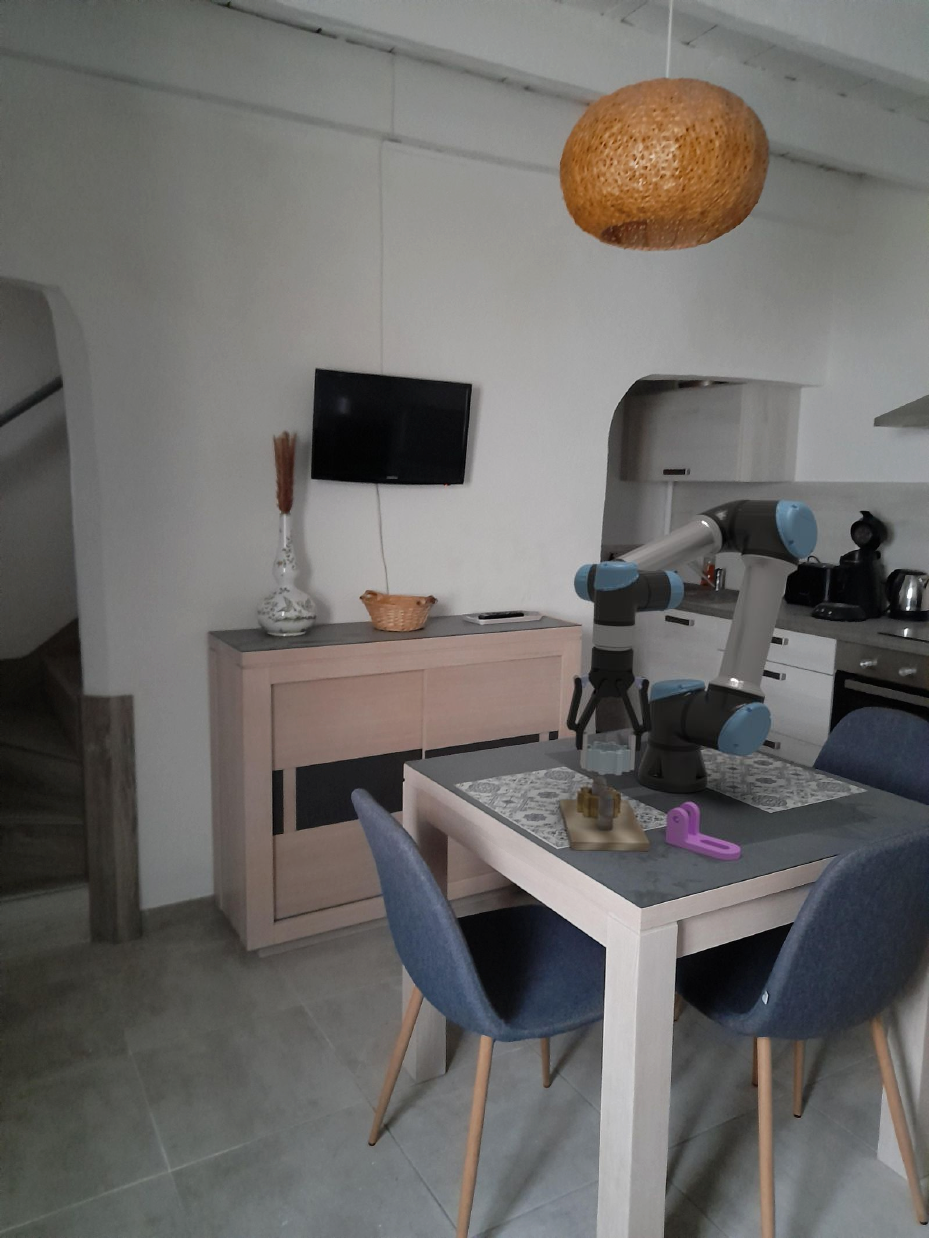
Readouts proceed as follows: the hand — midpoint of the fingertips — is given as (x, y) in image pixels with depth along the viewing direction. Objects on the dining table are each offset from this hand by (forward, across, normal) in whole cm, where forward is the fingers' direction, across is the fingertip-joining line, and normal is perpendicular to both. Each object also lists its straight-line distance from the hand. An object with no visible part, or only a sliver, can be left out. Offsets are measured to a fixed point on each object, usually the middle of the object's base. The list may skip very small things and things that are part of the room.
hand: (606, 766), depth 164 cm
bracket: (+14, -18, +5) cm, 23 cm away
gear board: (+13, 0, -4) cm, 14 cm away
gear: (0, 0, 0) cm, 0 cm away
